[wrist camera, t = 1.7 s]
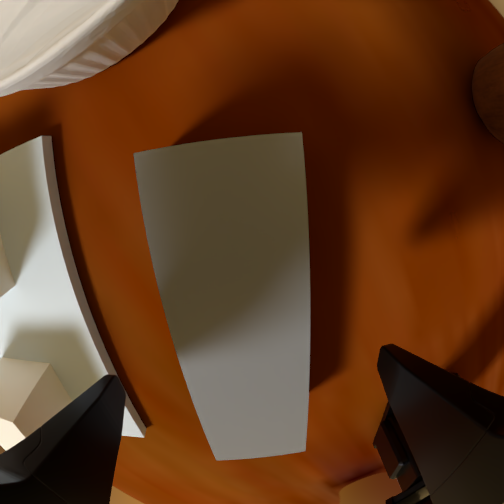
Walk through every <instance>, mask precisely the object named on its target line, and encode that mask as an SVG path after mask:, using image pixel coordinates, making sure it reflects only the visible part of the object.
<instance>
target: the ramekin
mask: <svg viewBox="0 0 504 504" xmlns="http://www.w3.org/2000/svg"><path fill="white" fill-rule="evenodd" d="M178 1H179V0H0V97H1V96H5V95H8V94H11V93H14V92H17V91H20V90H27V89H39V88H52V87H57V86H64V85H67V84H70V83H75V82H79V81H81V80H83V79H85V78H89V77H92V76H94V75H95V74H97V73H99V72H101V71H104V70H105V69H107V68H108V67H110V66H111V65H113V64H115V63H117V62H119V61H120V60H121V59H122V58H124V57H125V56H127V55H128V54H130V53H131V52H132V51H133V50H135V49H136V48H137V47H138V46H139V45H141V44H142V43H143V42H144V41H145V40H146V39H147V38H148V37H149V36H151V35H152V34H153V33H154V32H155V31H156V30H157V29H158V27H159V26H160V25H161V24H162V23H163V22H164V21H165V20H166V19H167V17H168V15H169V14H170V13H171V11H172V10H173V9H174V8H175V6H176V4H177V2H178Z"/></svg>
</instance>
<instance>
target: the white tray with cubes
mask: <svg viewBox="0 0 504 504" xmlns="http://www.w3.org/2000/svg"><path fill="white" fill-rule="evenodd" d="M107 374H110V375H117V373H116V371H115V369H114V367H113V364H112V362H111V360H110V358H109V356H108V353H107V351H106V349H105V347H104V344H103V342H102V339H101V337H100V335H99V332H98V330H97V327H96V325H95V322H94V319H93V317H92V314H91V311H90V309H89V306H88V303H87V300H86V297H85V294H84V291H83V288H82V285H81V282H80V279H79V276H78V272H77V269H76V265H75V262H74V258H73V255H72V251H71V247H70V243H69V239H68V235H67V231H66V227H65V222H64V218H63V213H62V208H61V203H60V197H59V192H58V186H57V179H56V173H55V165H54V157H53V148H52V137H51V136H40V137H37V138H35V139H33V140H30V141H28V142H26V143H24V144H21V145H19V146H17V147H15V148H13V149H11V150H9V151H7V152H5V153H3V154H1V155H0V445H1V446H2V447H3V448H4V449H5V450H6V451H7V450H8V449H10V448H11V447H13V446H14V445H16V444H17V443H19V442H20V441H22V440H23V439H25V438H26V437H28V436H29V435H30V434H32V433H33V432H34V431H35V430H37V429H38V428H39V427H41V426H42V425H43V424H44V423H46V422H47V421H48V420H49V419H51V418H52V417H53V416H54V415H56V414H57V413H58V412H59V411H61V410H62V409H63V408H64V407H66V406H67V405H68V404H69V403H71V402H72V401H73V400H74V399H76V398H77V397H78V396H79V395H81V394H82V393H83V392H84V391H86V390H87V389H88V388H89V387H91V386H92V385H93V384H94V383H96V382H97V381H98V380H99V379H101V378H102V377H103V376H104V375H107ZM117 376H118V375H117ZM118 378H119V377H118ZM119 380H120V379H119ZM120 382H121V381H120ZM121 384H122V383H121ZM122 386H123V385H122ZM123 388H124V387H123ZM124 390H125V389H124ZM125 393H126V391H125ZM145 432H146V427H145V425H144V424H143V422H142V420H141V419H140V417H139V415H138V413H137V412H136V410H135V408H134V406H133V404H132V402H131V401H130V399H129V397H128V395H127V393H126V401H125V410H124V419H123V429H122V436H133V437H145Z"/></svg>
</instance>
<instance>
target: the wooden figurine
mask: <svg viewBox="0 0 504 504" xmlns="http://www.w3.org/2000/svg"><path fill="white" fill-rule="evenodd" d="M472 94H473V101H474V104H475V107H476V111H477V113H478V115H479V116H480V118H481V119H482V121H483V123H484V125H485V126H486V128H487V129H488V130H489V131H490V133H491V134H492V135H493V136H494V137H495V138H496V139H498V140H499V141H500V142H502V143H503V144H504V43H503V44H501V45H499V46H498V47H496V48H495V49H493V50H492V51H490V52H489V53H488V54H487V55H485V56H484V57H483V58H481V59H480V60H479V61H478V63H477V65H476V67H475V69H474V73H473V79H472Z"/></svg>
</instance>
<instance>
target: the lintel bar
mask: <svg viewBox="0 0 504 504" xmlns="http://www.w3.org/2000/svg"><path fill="white" fill-rule="evenodd" d="M134 161H135V168H136V176H137V182H138V189H139V195H140V201H141V207H142V213H143V218H144V224H145V229H146V234H147V239H148V244H149V249H150V254H151V258H152V263H153V267H154V271H155V276H156V280H157V284H158V288H159V292H160V296H161V300H162V304H163V308H164V311H165V315H166V319H167V322H168V326H169V329H170V333H171V336H172V340H173V343H174V346H175V350H176V353H177V356H178V359H179V362H180V365H181V369H182V372H183V375H184V378H185V381H186V383H187V386H188V389H189V392H190V395H191V398H192V401H193V403H194V406H195V409H196V411H197V414H198V417H199V419H200V422H201V424H202V427H203V430H204V432H205V435H206V437H207V439H208V442H209V444H210V447H211V449H212V451H213V454H214V456H215V458H216V460H234V459H248V458H259V457H268V456H276V455H283V454H290V453H296V452H302V451H305V448H306V435H307V419H308V400H309V374H310V253H309V227H308V207H307V190H306V175H305V161H304V149H303V138H302V132H297V133H278V134H264V135H252V136H242V137H232V138H224V139H216V140H208V141H201V142H194V143H187V144H181V145H175V146H169V147H164V148H158V149H153V150H148V151H143V152H138V153H134Z"/></svg>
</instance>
